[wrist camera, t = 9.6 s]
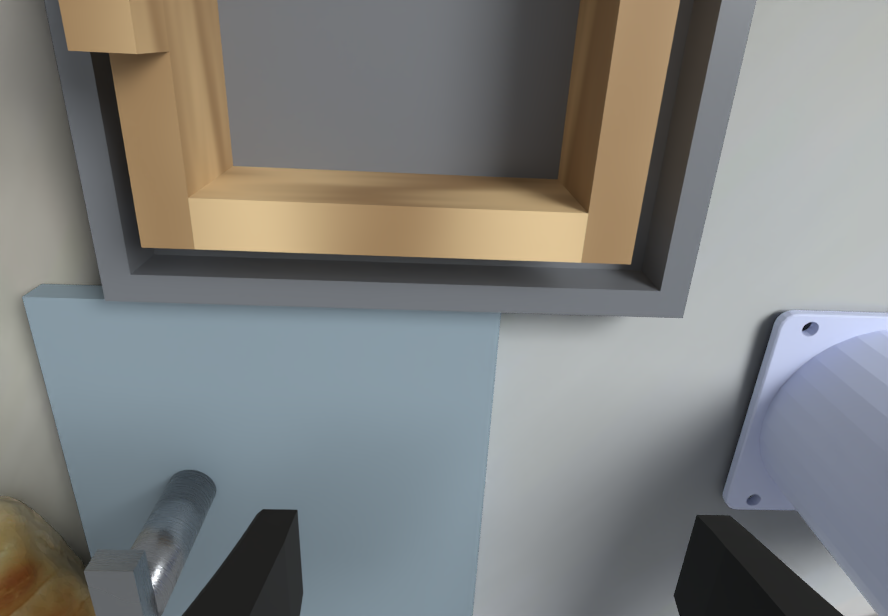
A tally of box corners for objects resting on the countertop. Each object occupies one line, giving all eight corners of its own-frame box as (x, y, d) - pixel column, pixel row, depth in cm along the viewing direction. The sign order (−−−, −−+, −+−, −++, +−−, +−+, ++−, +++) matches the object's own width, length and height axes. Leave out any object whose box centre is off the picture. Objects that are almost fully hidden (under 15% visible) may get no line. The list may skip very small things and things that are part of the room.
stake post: (209, 441, 20) (141, 571, 15) (222, 532, 22) (164, 677, 17) (160, 440, 20) (75, 571, 15) (176, 532, 21) (105, 677, 17)
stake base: (497, 297, 19) (501, 311, 18) (469, 608, 25) (470, 630, 24) (42, 283, 19) (22, 296, 18) (121, 606, 24) (109, 629, 23)
